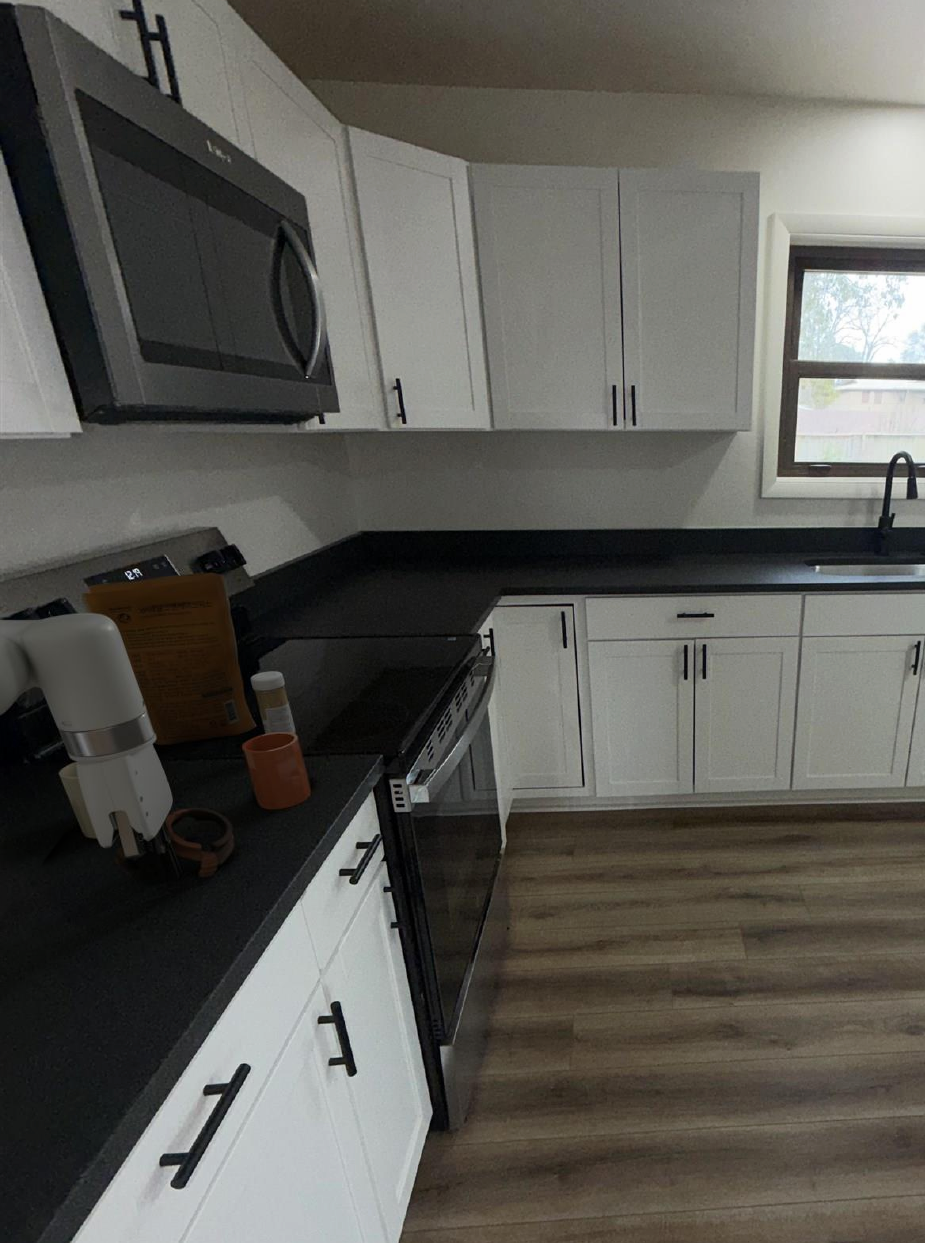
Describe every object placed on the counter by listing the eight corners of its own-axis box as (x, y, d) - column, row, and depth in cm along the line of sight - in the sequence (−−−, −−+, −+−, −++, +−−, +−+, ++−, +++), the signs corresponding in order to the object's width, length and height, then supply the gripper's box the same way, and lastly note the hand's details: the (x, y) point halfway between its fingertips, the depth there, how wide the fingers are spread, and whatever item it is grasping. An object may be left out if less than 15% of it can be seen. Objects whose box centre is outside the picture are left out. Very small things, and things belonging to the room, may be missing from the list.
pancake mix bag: (262, 735, 128) (219, 574, 116) (133, 753, 121) (74, 584, 109) (266, 722, 133) (225, 567, 122) (143, 738, 127) (88, 576, 115)
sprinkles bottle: (271, 748, 123) (251, 672, 117) (301, 743, 124) (282, 668, 119) (269, 759, 119) (248, 681, 113) (300, 754, 121) (281, 677, 115)
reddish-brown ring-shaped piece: (200, 841, 97) (216, 794, 94) (238, 889, 94) (256, 843, 91) (93, 864, 86) (108, 813, 83) (132, 920, 84) (148, 869, 80)
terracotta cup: (254, 813, 103) (238, 755, 99) (261, 791, 109) (245, 736, 105) (309, 804, 105) (295, 747, 101) (312, 783, 111) (299, 729, 107)
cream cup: (75, 842, 96) (50, 782, 92) (92, 817, 102) (69, 759, 98) (138, 832, 98) (116, 772, 94) (151, 808, 104) (131, 751, 100)
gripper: (91, 714, 81) (144, 853, 89) (37, 770, 69) (105, 926, 76) (168, 704, 84) (214, 840, 91) (130, 756, 71) (187, 909, 79)
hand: (164, 879), depth 84 cm, fingers closed
